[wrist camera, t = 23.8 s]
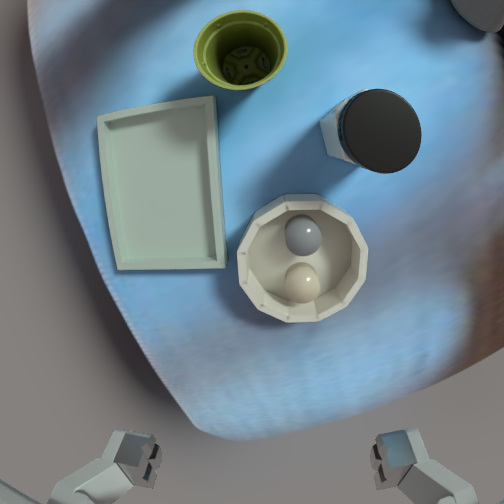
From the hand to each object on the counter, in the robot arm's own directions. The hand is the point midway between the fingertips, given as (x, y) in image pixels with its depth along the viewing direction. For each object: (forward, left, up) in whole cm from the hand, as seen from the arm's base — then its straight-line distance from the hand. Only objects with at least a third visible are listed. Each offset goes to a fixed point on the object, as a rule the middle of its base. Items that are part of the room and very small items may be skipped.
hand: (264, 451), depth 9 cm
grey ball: (+2, +4, -32) cm, 33 cm away
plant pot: (-20, -2, -33) cm, 39 cm away
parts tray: (-5, -14, -33) cm, 36 cm away
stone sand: (+8, +4, -32) cm, 34 cm away
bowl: (+5, +4, -33) cm, 34 cm away
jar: (-11, +11, -33) cm, 37 cm away
